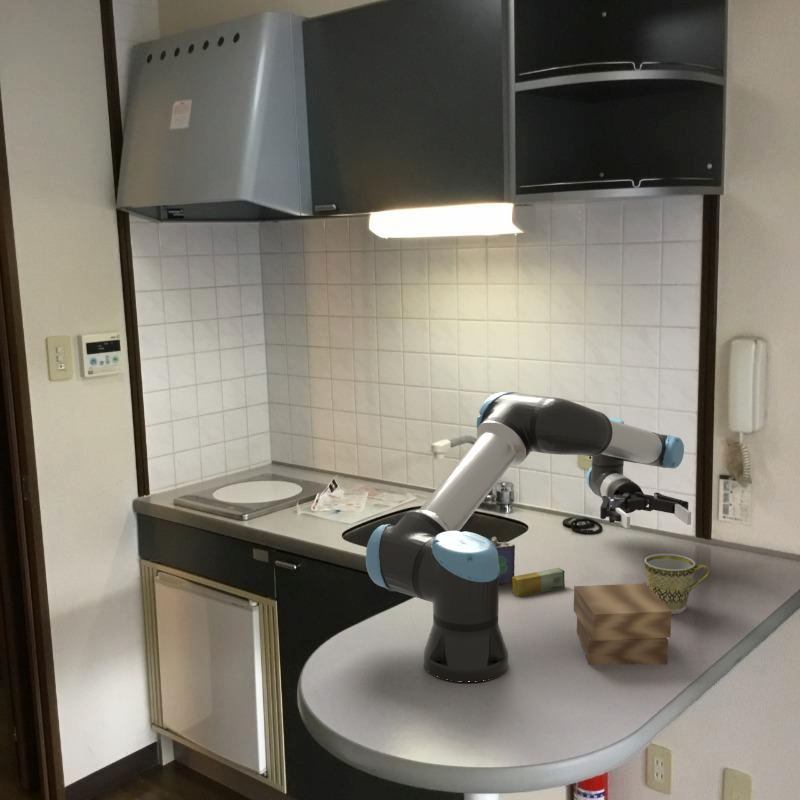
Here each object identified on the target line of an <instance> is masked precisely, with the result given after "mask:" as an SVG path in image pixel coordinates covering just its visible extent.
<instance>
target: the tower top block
mask: <svg viewBox="0 0 800 800" xmlns="http://www.w3.org/2000/svg"><path fill="white" fill-rule="evenodd" d="M573 612H574V613H575V615H576V618H577V617H578V618H579V620H580V621H581V623H582V624H583V626H584V627H585V629H586V630H587V632H588V633H589V635H590V636H591V638H592V639H593V641H608V640H630V639H652V638H667V639H671V635H672V632H671V631H672V614H671V612H672V611H671V610H670V609H669V608H668V607H667V606H666V605H665V604H664V603H663V601H662V600H661V599H660V598H659V597H658V596H657V595H656V594H655V593H654V592H653V591H652V590H651V588H650V587H649V586H648V583H645V582H643V583H625V584H624V583H623V584H622V583H621V584H619V583H618V584H598V585H597V584H595V585H574V586H573Z"/></svg>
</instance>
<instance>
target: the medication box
mask: <svg viewBox="0 0 800 800" xmlns="http://www.w3.org/2000/svg"><path fill="white" fill-rule="evenodd" d="M565 571H566V570H564V569H563V568H562V569H561V568H559V567H555V568H551V569H546V570H541V571H535V572H530V573H524V574H519V575H514V577H512V584H511V585H512V586H511V587H512V591H511V592H512V593H511V594H513V595H515V596H517V597H523V596H528V595H534V594H540V593H544V592H545V593H546V592H549V591H550V592H551V591H554V590H555V591H556V590H560V589H561V590H562V589H565V588H566V586H565V585H566V584H565Z"/></svg>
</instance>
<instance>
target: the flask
mask: <svg viewBox="0 0 800 800" xmlns="http://www.w3.org/2000/svg"><path fill="white" fill-rule="evenodd" d="M497 539H498V538H497V537H496V536H492V537H490V538H489V540H491V542H492V543H493V544H494V545H495V547H496V549H497V551H498V563H499V567H500V573H499V586H507V585H512V577H514V576H515V568H516V567H515V566H516V565H515V562H516V561H515V559H516V557H515V556H516V552H515V550H516V545H515V544H514V543H512V542H508V541H503V542H502V541H501V542H499V541H498V540H497Z"/></svg>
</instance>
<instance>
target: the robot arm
mask: <svg viewBox="0 0 800 800" xmlns="http://www.w3.org/2000/svg"><path fill="white" fill-rule="evenodd" d="M478 413H479V415H478V416H477V418H476V438H477V440H476V441H474V443H473V444H472V446H471V447H470V448H469V449H468V450H467V451H466V453H465V454H464V455H463V456H462V458H461V459H459V460H458V463H456V465H455V466H454V467H453V468H452V470H451V471H450V472H449V473H448V474H447V475H446V477H445V478H444V479H443V480H442V481H441V483H440V484H439V485H438V486H437V488H436V489H435V490H434V491H433V493H432V494H431V495H430V496H428V497H429V498H427V499H426V501H425V502H424V503H423V504H422V506H421V507H420V508H419V509H418V510H409V511H407V512H406V513H405V514H404V515H403V516H402V517H401V518H400V520H399V521H398V522H397V523H396V524H395V525H393V524H391V523H387V524H381V525H379V526H378V527H377V528H375V530H373V532H372V534H371V535H370V538H369V539H368V541H367V544H366V549H365V552H366V553H365V566H366V570H367V573H368V576H369V577H370V579H371V580H372V582H373V583H374V584H375V585H377V586H379V587H381V588H384V589H387V590H388V591H390V592H398V593H400V594H401V593H402V594H405V595H407V596H410V597H414V598H417V599H420V600H423V601H427V602H430V603H431V604H432V608H433V609H432V616H433V618H432V619H433V621H432V627H431V629H430V632H429V636H428V639H427V641H426V645H425V647H424V650H423V666H424V668H425V670H426V669H427V670H428V671H429V672H430V673H431V674H430V673H429V672H428V671H427V670H426V671H427V672H428V673H429V674H430V675H432V674H433V675H432V676H434V675H435V676H434V677H436V676H438V677H440V678H443V679H442V680H444V679H448V680H452V681H451V682H453V681H462V682H468V681H470V682H474V683H476V682H475V681H482V682H484V681H483V680H487V681H489V680H488V679H491V680H493V679H492V678H494V679H496V678H498V677H500V676H501V674H502V675H503V674H504V673H505V672H506V671H507V670H508V667H509V652H508V648H507V646H506V643H505V639H504V637H503V633H502V631H501V628H500V624H499V609H500V607H499V602H500V601H499V599H500V598H499V591H500V590H499V589H500V587H499V586H500V585H499V573H500V567H499V563H498V551H497V549H496V547H495V545H494V544H493V543H492V540H491V539H490V538H487V537H485V536H482V535H481V534H478V533H475V532H471V531H466V530H465V531H460V530H461V529H462V528H464V526H465V525H466V523H467V521H468V520H469V519H470V517H472V515H473V514H474V513H475V511H476V510H477V509H478V508H479V507H480V505H481V504H482V503H483V502H484V500H485V499H486V497H488V495H489V493H490V492H491V491H492V490H493V489H494V487H495V486H496V485H497V483H498V482H499V481H500V480H501V478H502V477H503V476H504V474H505V473H506V472H507V471H508V470H509V468H510V467H513V466H518V465H520V464H522V463H523V462H524V461H525V459H527V457H528V456H529V454H530V453H531V452H535V453H541V454H548V455H549V454H550V455H561V456H562V455H567V456H569V455H570V456H571V455H573V456H574V455H575V456H576V455H577V456H586V457H592V458H591V460H592V461H591V466H590V467H589V469H588V471H587V473H586V477H585V481H586V484H587V486H588V488H589V489H590V490H591V491H592V493H594V495H596V496H598V497H600V498H601V505H600V508H599V509H600V515H599V517H600V519H601V520H605V519H607V518H608V522H609V523H611V524H612V523H616V522H617V523H619V524H620V525H621V526H622V527H623V528H625V529H626V530H630V529H631V516H630V515H629V514H631V513H634V512H636V511H645V512H652V511H658V512H662V513H668V514H673V515H674V517H676V518H677V519H678V520H679V521H681V522H683V523H685V524H686V525H689V526H690V525H692V512H691V511H690V510H689V501H686V500H683V499H679V498H675V497H672V496H669V495H664V494H662V493H660V492H653V495H651V494H645V493H644V492H643V490H642V488H641V486H640V485H638V484H637V483H636V482H634V481H633V480H631V479H630V478H628V477H627V476H626V475H624V465H625V464H624V462H626V463H627V462H629V463H633V464H639V465H646V466H653V467H658V468H663V469H666V468H667V469H676V468H678V467H680V466H681V464H682V461H683V460H684V459H683V458H684V454H685V445H684V442H683V440H682V439H681V438H680V437H679V436H673V435H670V434H668V435H667V434H663V433H661V434H660V433H658V432H657V433H656V432H652V431H650V430H647V429H642V428H639V427H636V426H633V425H628V424H625V422H624V420H622V419H619V418H616V417H615V418H614V417H608V416H607V415H606V414H605V413H603V412H601V411H598V410H595V409H592V408H590V407H588V406H585V405H582V404H580V403H576V402H573V401H571V400H568V399H564V398H560V397H550V396H541V395H535V394H528V393H520V392H516V391H507V392H504V391H503V392H502V391H501V392H497V393H493V394H492V395H490V396H489V397H488V398H486V399H485V400H484V402H483V404H482V405H481V407H480V409H479V412H478ZM497 676H498V677H497ZM438 677H437V678H438ZM495 677H496V678H495ZM440 678H439V679H440Z"/></svg>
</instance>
